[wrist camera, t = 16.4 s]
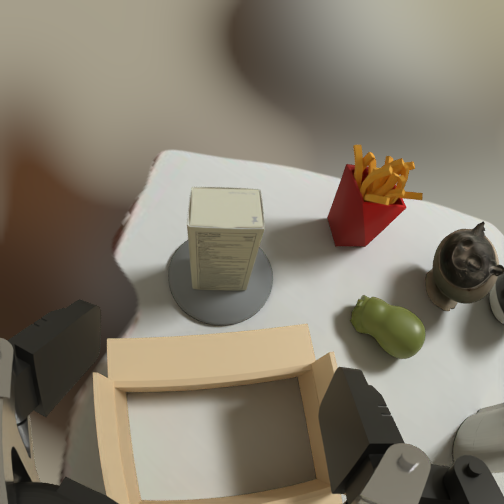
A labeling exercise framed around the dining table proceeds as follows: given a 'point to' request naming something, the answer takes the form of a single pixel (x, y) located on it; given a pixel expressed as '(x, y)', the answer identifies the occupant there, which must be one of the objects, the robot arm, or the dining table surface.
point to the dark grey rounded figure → (498, 298)
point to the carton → (206, 377)
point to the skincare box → (224, 236)
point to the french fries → (368, 199)
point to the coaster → (219, 292)
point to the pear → (389, 326)
